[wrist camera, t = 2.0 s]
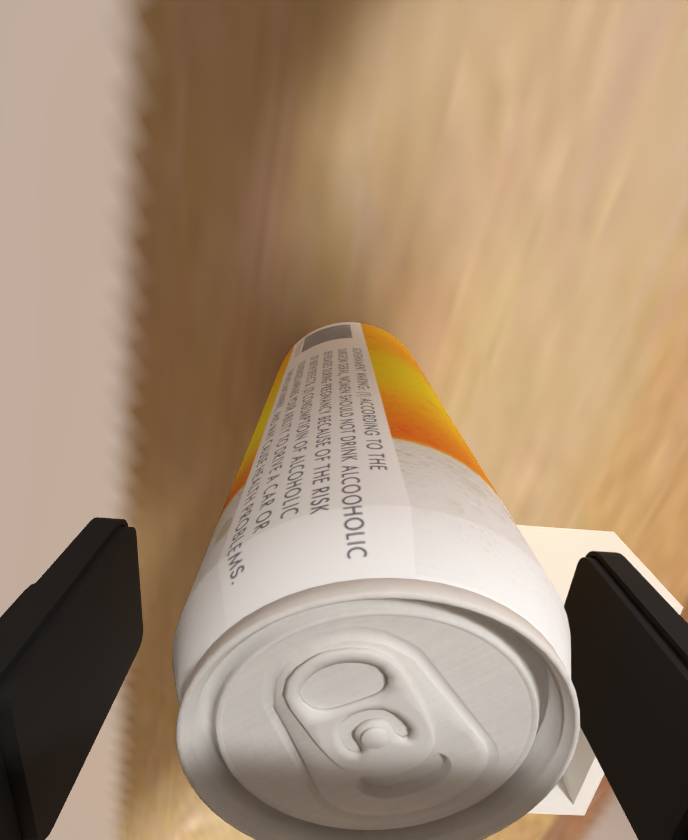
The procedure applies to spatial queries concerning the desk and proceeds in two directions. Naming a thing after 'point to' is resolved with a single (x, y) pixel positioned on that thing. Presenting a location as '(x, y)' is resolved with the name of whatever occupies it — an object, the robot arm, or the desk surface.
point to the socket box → (559, 562)
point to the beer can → (369, 621)
